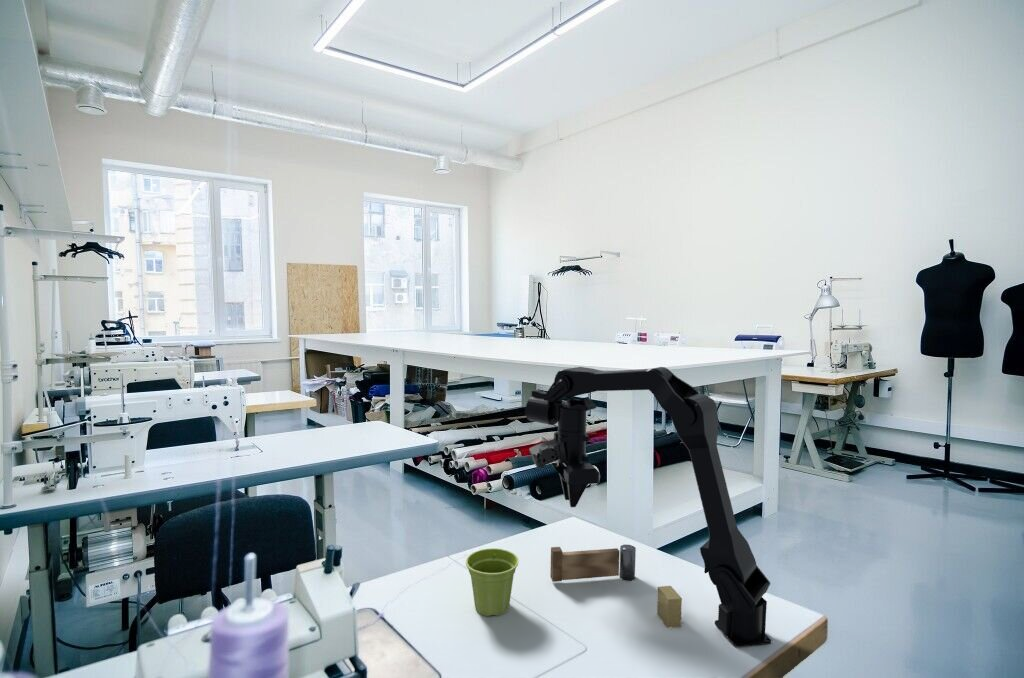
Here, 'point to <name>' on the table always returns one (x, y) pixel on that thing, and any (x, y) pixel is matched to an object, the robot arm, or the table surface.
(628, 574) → the grey metal cylinder
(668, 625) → the block
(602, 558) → the wooden t-bar
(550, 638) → the table surface
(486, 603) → the plant pot
